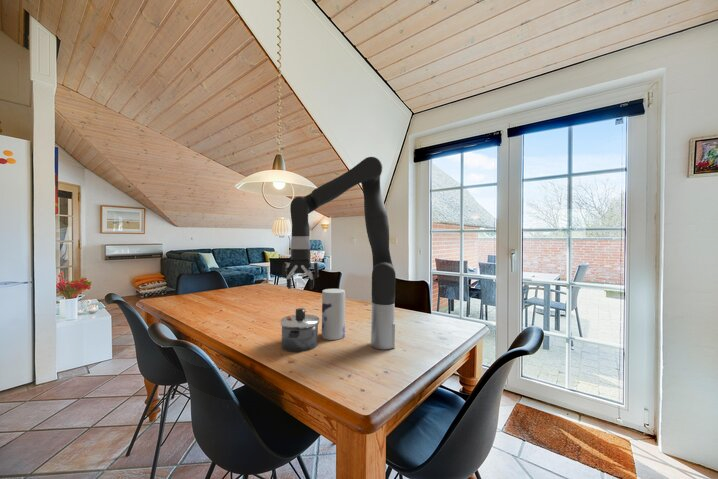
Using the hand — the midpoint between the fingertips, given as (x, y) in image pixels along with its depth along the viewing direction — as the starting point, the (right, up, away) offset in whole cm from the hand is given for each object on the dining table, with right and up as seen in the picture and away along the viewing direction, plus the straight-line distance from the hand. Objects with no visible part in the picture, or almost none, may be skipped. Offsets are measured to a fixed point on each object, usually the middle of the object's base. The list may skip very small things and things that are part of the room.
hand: (300, 288), depth 111 cm
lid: (0, -14, 0) cm, 14 cm away
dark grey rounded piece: (0, -22, 0) cm, 22 cm away
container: (+12, -23, +11) cm, 28 cm away
